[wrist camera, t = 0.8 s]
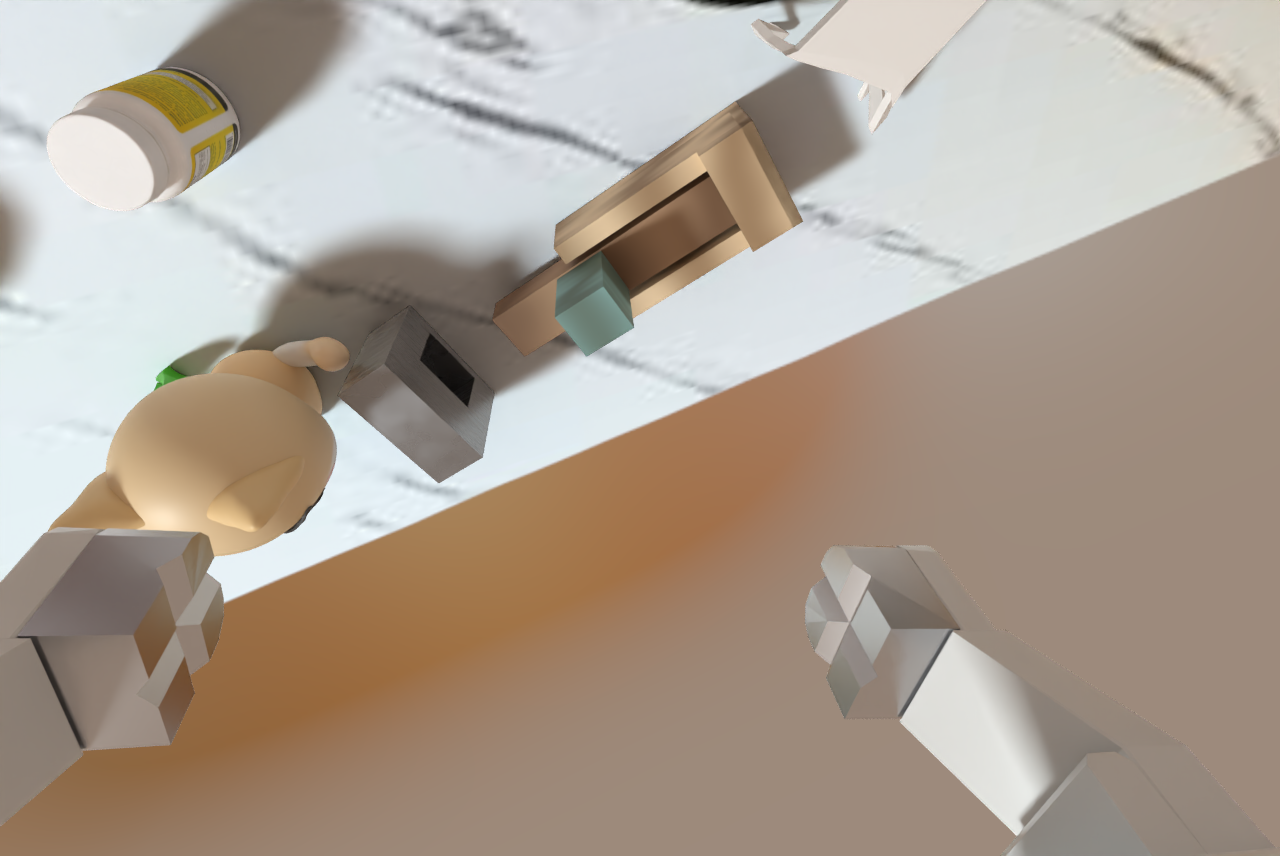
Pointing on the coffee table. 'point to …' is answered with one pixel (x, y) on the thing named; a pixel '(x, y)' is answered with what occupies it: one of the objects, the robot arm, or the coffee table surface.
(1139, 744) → the robot arm
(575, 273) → the slide bar
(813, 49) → the origami figure
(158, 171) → the supplement bottle
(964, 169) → the coffee table surface
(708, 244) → the guide channel
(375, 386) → the socket block
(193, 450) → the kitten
